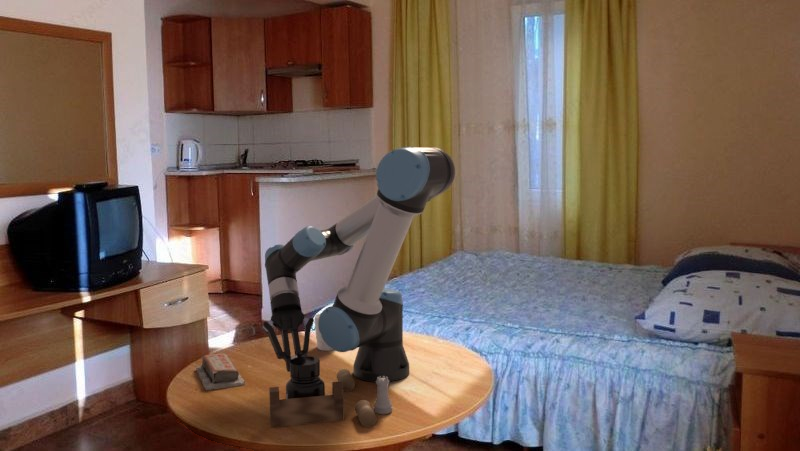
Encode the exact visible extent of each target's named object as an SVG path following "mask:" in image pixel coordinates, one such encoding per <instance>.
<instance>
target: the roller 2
mask: <svg viewBox="0 0 800 451" xmlns="http://www.w3.org/2000/svg"><path fill="white" fill-rule="evenodd" d="M354 409H355V410H354V411H355V413H356V415H357V417H358V420H359V422H360V424H361V425H362V427H364V428H371V427H374V425H375V424H376V422H377V415H376V413H375V412H374V410H373V409H374V408H373V407H372V405H371V403H370V402H369V401H368V400H366V399H361V400H359V401H358V402H356V403H355V406H354Z"/></svg>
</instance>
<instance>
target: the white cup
mask: <svg viewBox="0 0 800 451" xmlns="http://www.w3.org/2000/svg"><path fill="white" fill-rule="evenodd" d="M321 313H322V312H319V313H317V314H315V315H314V326H315V330H314V331H315V338H316V339H315V340H316V348H317V349H318V350H320V351H327V352H328V351H329V352H331V351H334V350H333V349H331V348H330V347H329V346H328V345H327V344H326V343H325V342H324V340H323V339H322V335H321V333H320V331H319V325H318V322H319V317H320V315H321Z"/></svg>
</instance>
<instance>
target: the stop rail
mask: <svg viewBox="0 0 800 451" xmlns="http://www.w3.org/2000/svg"><path fill="white" fill-rule="evenodd" d="M331 385H332V389H331V390H332V394H327V395H326V394H325V396H314V397H303V398H292V399H286V398H283V399H282V398H281V399H280V388H279V386H272V387H271V386H270V387H269V388H268V389H269V390H268V391H269V416H270V417H269V418H270V420H269V421H270V422H269V423H270V428H277V427H279V428H280V427H288V426H289V427H290V426H298V425H299V426H300V425H309V424H310V425H311V424H318V423H329V422H330V423H331V422H339V421H344V420H345V419H344V416H345V414H344V391H343V385H342V382H341V381H338V380H337V381H332V383H331Z"/></svg>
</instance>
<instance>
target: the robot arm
mask: <svg viewBox="0 0 800 451" xmlns="http://www.w3.org/2000/svg"><path fill="white" fill-rule="evenodd" d="M455 175H456V167H455V163H454V161H453V159H452V157H451V156H450V155H449V154H448V153H447V152H446V151H445V150H443V149H441V148H439V147H434V146H427V147H414V146H403V147H400V148H396V149H395V148H394V149H392V150H390V151H389V152H387V153H386V154H384V156H383V157H382V158H381V159H380V161H379V162H378V165H377V168H376V172H375V181H376V182H377V183H376V185H377V186H376V187H377V192H376V195H375V196H374V197H373V198H371V199H370V200H368V201H367V202H365V203H364V204H362V205H361V206H359V207H358V208H357V209H355V210H354V211H352V212H350V213H349V214H348V215H346V216H345V217H343V218H342V219H341V220H339V221H338V222H337V223H335V224H333V225H332V226H330V227H329V228H326V229H322V230H320V229H319V228H317V227H314V226H312V225H307V226H305V227H303V228H302V229H301V230H299V231H297V232H296V233H295V234H294V236H293V237H292V238H290V239H289V241H287V243H286V244H275V245H273V246H270V247H269V248H267V250H265V253H264V260H265V261H264V262H265V263H264V267H265V273H266V280H267V287H268V293H269V300H270V310H271V316H270V319H269V321H264V322H263V324H262V330H263V331H264V332H265V333H266V334H267V336H268V339H269V341H270V343H271V345H272V348H273V350H274V353H275V356H276V358H277V359H278V360H284V362H285V367H286V371H287V372H288V373H290V361H291V359H294V358H297V357H303V356H308V354H309V353H308V352H309V349H310V339H311V329H312V328H313V325H314V323H315V318H314V317H309V318H308V317H305V314H304V312H303V311H302V304H301V299H300V292H299V287H298V281H297V273H298V272H299V271H300V270H301V269H303V268H304V267H306V265H307V264H308V263H310V262H312V261H318V260H322V259H325V258H331V257H337V256H341V255H344V254H347V253H349V252H350V251H351V250H353V248H354V245H355V244H357V243H359V242H360V241H362V240H364V239H365V240H364V243H363V245H362V247H361V250H360V253H359V255H358V258H357V260H356V262H355V265H354V268H353V270H352V273H351V275H350V277H349V280H348V283H347V285H346V286H344V287H342V288H340V289H339V290H338V292H337V294H336V296H335V299H334V301H333V303H332V304H331V305H332V306H328V307H326V308H325V309H324V310H322V312H320V313H321V315H320V317H319V322H318V325H319V331H320V333H321V335H322V339H323V340H324V342H325V343H326V344H327V345H328V346H329V347H330V348H331V349H333V350H332V351H335V352H337V353H338V352H339V353H347V352H350V351H355V350H356V349H358V350H357V352H356V356H355V360H354V363H353V368H352V369H353V375H354V377H356V378H357V379H359V380H362V381H366V382H371V383H376V380H377V377H379V376H381V378H383V376H385V378H386V376H387V377H388V380H389V381H390V382H394V380H396V381H399V379H400V380H401V379H402V380H403V379H405V378H406V377H408V376H409V375H410V362H409V359H408V357H407V354H406V351H405V347H404V344H403V343H404V341H403V339H404V338H403V337H404V336H403V335H404V334H403V333H404V330H403V326H404V324H403V322H404V321H403V320H404V318H403V316H404V315H403V312H404V311H403V307H404V303H403V295H402V293H401V292H400V291H399V290H396V289H391V288H385V286H386V284H387V281H388V279H389V277H390V275H391V272H392V269H393V267H394V264H395V263H396V260H397V258H398V256H399V253H400V250H401V248H402V246H403V243H404V241H405V239H406V236H407V235H408V234H407V233H408V232H409V229H410V227H411V224H412V223H413V219H414V217H416V216H418V215H421V214H423V212H424V210H425V208H426V205H427V203H428V202H431V201H432V200H433V199H435V198H437V197H438V196H440V195H441V194H443V193H445V192H446V191H447V190H448V189H449V188H451V186H452V185H453V183H454V181H455V177H456V176H455ZM302 324H303V327H304V328H305V329H304V337H303V346H302V347H301V342H300V336H299V329H300V327H301V325H302ZM274 327H275V328H276V329H277V330H278V331H279V332H280V335H281V339H282V340H281V341H282V346H281V344H280V341H279V339H278V336H277V335H276V332H275V330H274ZM289 333H291V338H292V343H293V350H294V351H293V352H294V355H291V353H292V352H291V347H290V338H289Z"/></svg>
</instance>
